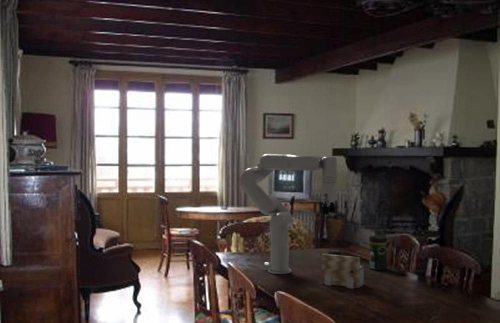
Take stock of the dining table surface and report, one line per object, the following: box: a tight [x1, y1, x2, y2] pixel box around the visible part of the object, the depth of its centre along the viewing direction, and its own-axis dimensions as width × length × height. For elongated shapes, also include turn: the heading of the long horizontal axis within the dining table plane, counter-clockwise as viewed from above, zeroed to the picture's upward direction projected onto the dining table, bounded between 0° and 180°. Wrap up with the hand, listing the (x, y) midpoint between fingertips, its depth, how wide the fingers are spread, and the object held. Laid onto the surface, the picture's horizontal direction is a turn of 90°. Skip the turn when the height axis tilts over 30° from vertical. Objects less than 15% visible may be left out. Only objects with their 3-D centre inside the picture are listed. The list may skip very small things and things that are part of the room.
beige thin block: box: [321, 253, 361, 289], centre depth 254 cm, size 18×4×14 cm, turn 62°
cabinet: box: [324, 265, 365, 290], centre depth 256 cm, size 18×11×9 cm, turn 62°
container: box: [327, 250, 342, 255], centre depth 274 cm, size 8×8×13 cm
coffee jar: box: [368, 234, 388, 271], centre depth 292 cm, size 10×8×19 cm
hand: (328, 213), depth 274 cm, fingers open, 9 cm apart
